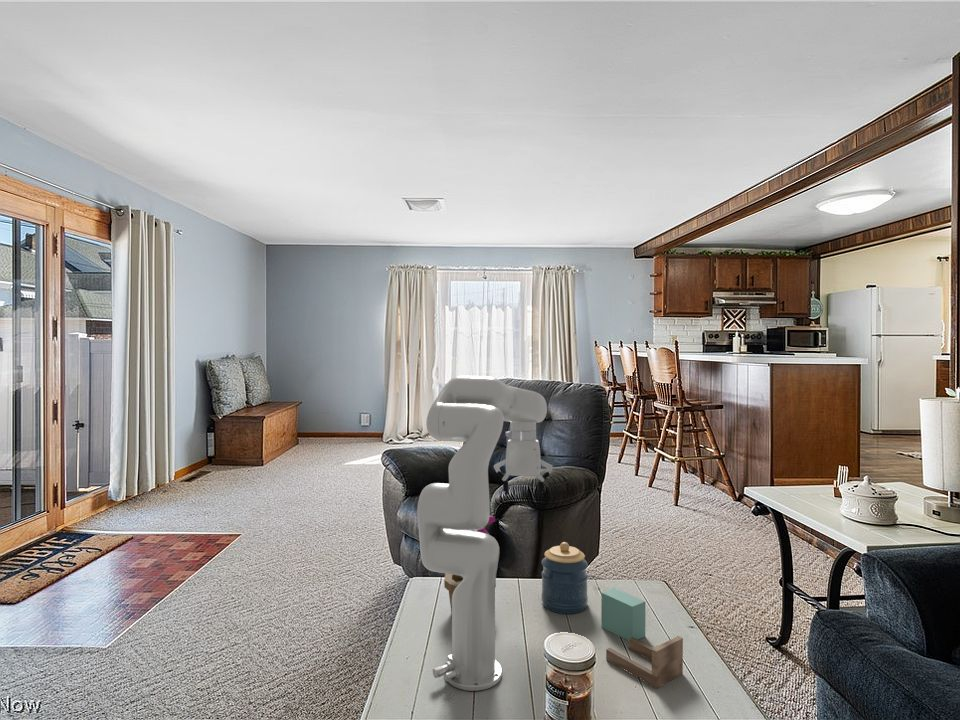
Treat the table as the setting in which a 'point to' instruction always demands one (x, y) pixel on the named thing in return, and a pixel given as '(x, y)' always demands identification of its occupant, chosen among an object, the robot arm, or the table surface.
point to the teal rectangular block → (623, 614)
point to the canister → (564, 579)
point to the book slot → (663, 660)
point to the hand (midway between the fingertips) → (523, 493)
